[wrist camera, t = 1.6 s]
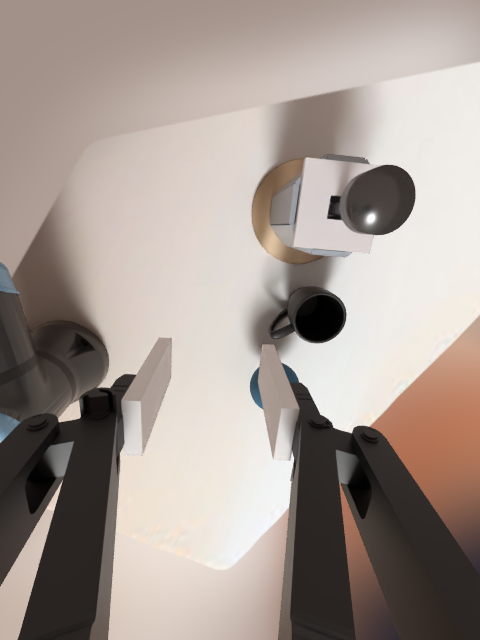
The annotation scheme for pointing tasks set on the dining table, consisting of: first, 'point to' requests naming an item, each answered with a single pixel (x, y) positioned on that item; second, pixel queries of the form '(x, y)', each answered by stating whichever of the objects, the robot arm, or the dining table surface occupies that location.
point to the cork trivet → (262, 214)
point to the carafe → (318, 208)
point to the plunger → (375, 201)
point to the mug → (311, 316)
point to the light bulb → (255, 387)
